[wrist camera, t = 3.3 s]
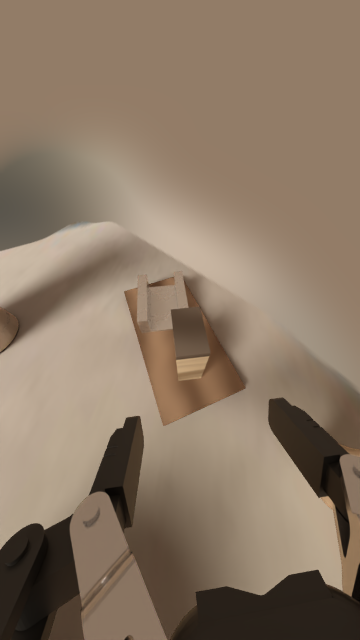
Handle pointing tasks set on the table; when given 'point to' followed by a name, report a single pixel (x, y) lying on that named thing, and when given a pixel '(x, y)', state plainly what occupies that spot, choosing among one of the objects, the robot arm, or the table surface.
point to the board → (162, 367)
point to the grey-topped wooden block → (190, 342)
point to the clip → (159, 303)
